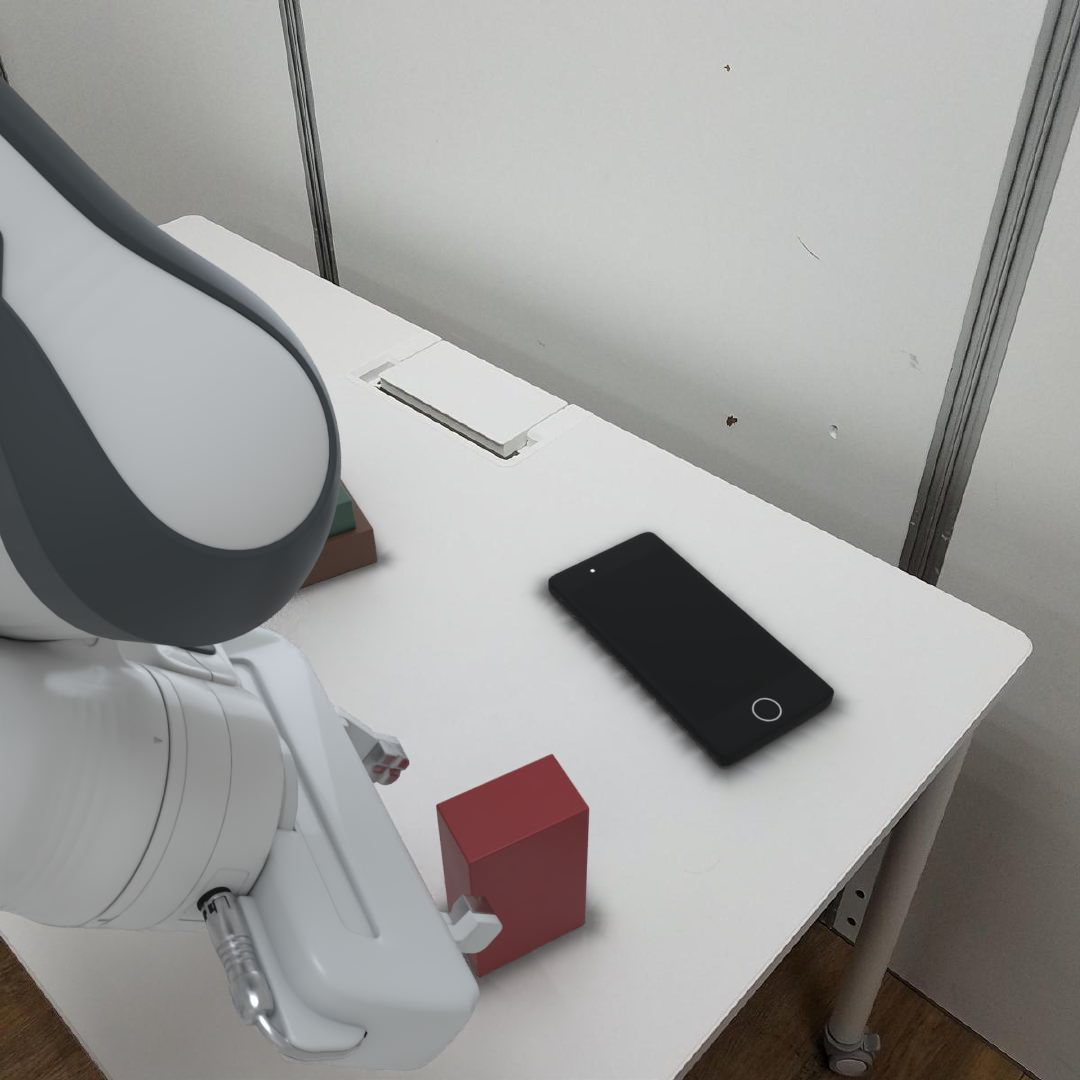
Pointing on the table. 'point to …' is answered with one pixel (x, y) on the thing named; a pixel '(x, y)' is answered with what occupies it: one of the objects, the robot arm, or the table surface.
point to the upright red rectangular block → (518, 856)
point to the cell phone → (691, 646)
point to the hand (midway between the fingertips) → (438, 838)
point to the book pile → (345, 541)
